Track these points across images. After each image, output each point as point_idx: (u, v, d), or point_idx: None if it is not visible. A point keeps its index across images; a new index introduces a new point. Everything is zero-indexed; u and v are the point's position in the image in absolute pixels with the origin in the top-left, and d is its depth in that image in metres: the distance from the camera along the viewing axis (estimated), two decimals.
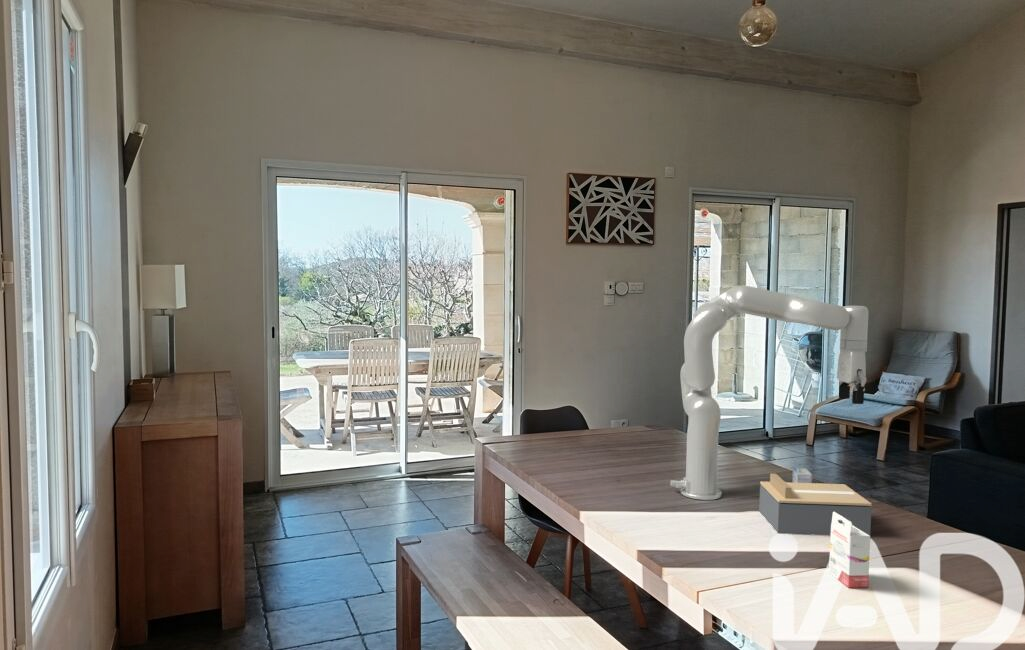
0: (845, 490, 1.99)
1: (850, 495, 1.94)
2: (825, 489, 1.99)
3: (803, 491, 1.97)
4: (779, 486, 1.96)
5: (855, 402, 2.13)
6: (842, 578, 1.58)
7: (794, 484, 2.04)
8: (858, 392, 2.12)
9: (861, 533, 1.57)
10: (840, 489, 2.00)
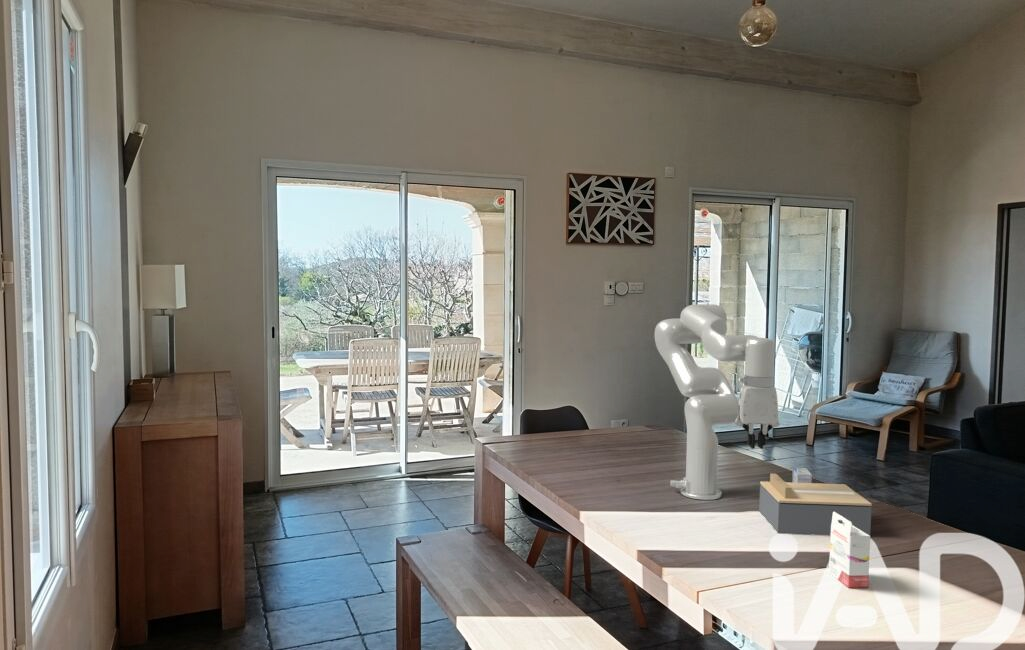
0: (845, 490, 1.99)
1: (850, 495, 1.94)
2: (825, 489, 1.99)
3: (803, 491, 1.97)
4: (779, 486, 1.96)
5: None
6: (842, 578, 1.58)
7: (794, 484, 2.04)
8: None
9: (861, 533, 1.57)
10: (840, 489, 2.00)
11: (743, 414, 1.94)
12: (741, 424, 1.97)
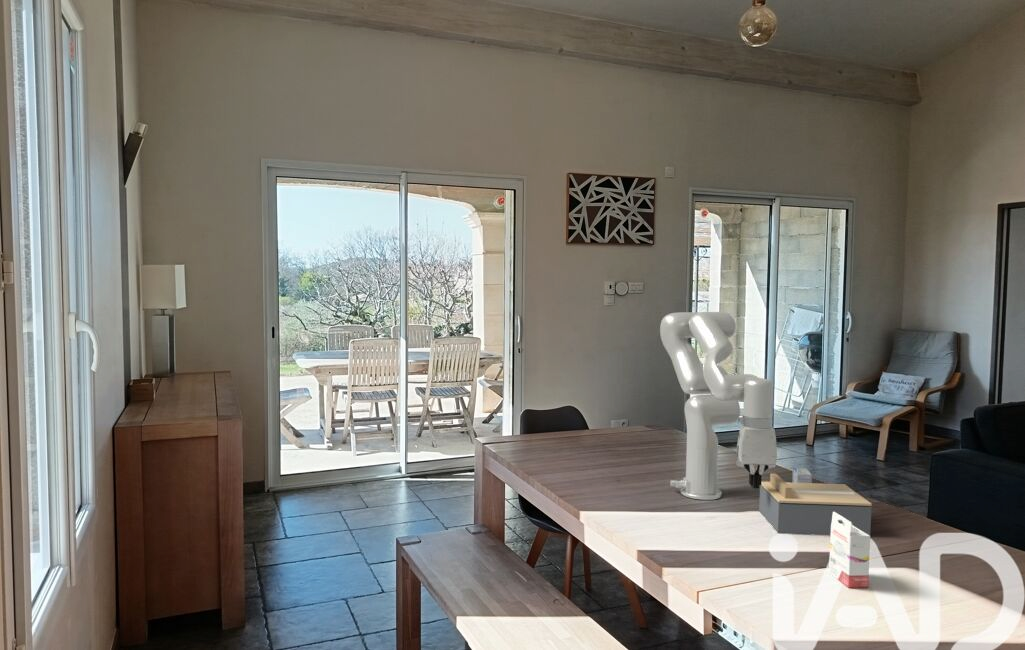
0: (845, 490, 1.99)
1: (850, 495, 1.94)
2: (825, 489, 1.99)
3: (803, 491, 1.97)
4: (779, 486, 1.96)
5: None
6: (842, 578, 1.58)
7: (794, 484, 2.04)
8: None
9: (861, 533, 1.57)
10: (840, 489, 2.00)
11: (742, 455, 1.95)
12: (742, 464, 1.97)
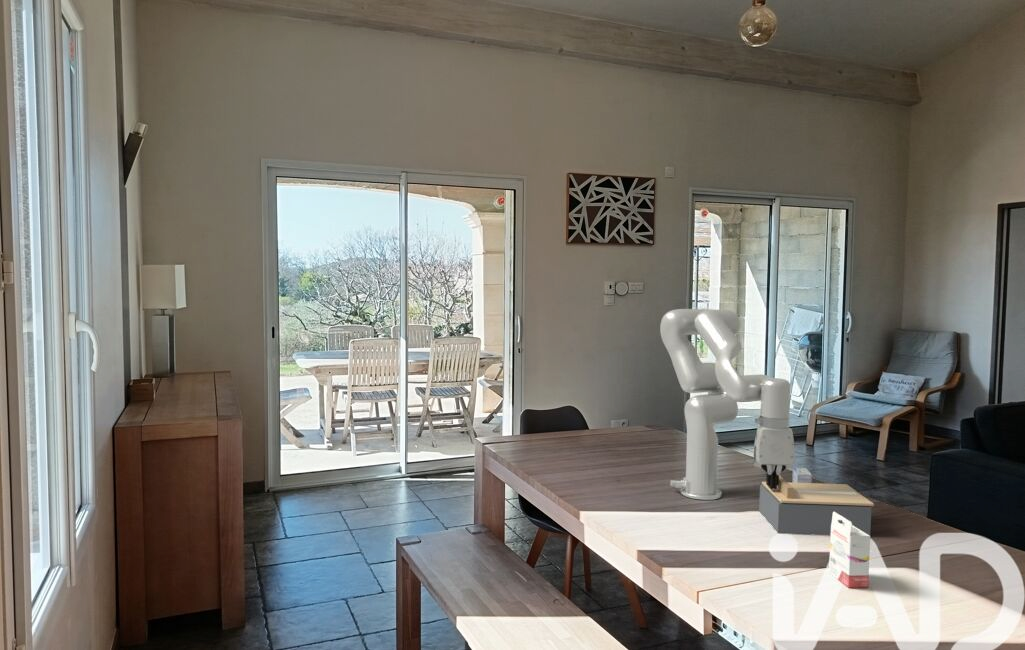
0: (847, 490, 1.99)
1: (852, 495, 1.94)
2: (827, 489, 1.99)
3: (805, 491, 1.97)
4: (781, 486, 1.96)
5: None
6: (842, 578, 1.58)
7: (796, 484, 2.04)
8: None
9: (861, 533, 1.57)
10: (842, 489, 2.00)
11: (759, 455, 1.95)
12: (759, 465, 1.97)
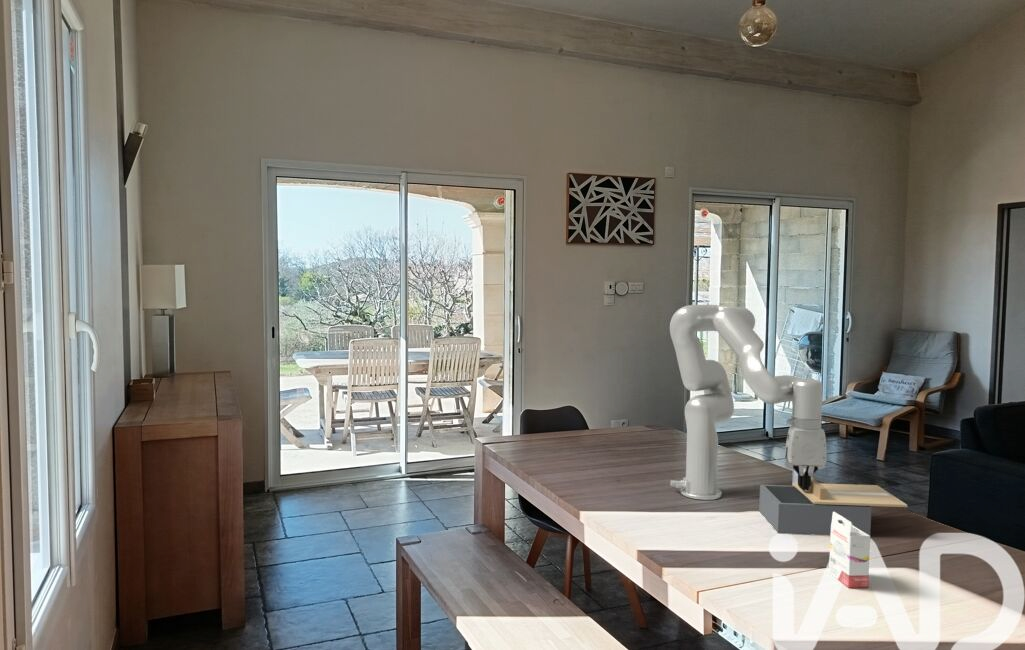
0: (879, 491, 1.98)
1: (885, 496, 1.93)
2: (859, 490, 1.99)
3: (837, 492, 1.96)
4: (813, 487, 1.95)
5: None
6: (842, 578, 1.58)
7: (827, 485, 2.03)
8: None
9: (861, 533, 1.57)
10: (874, 490, 1.99)
11: (791, 456, 1.94)
12: (791, 466, 1.96)
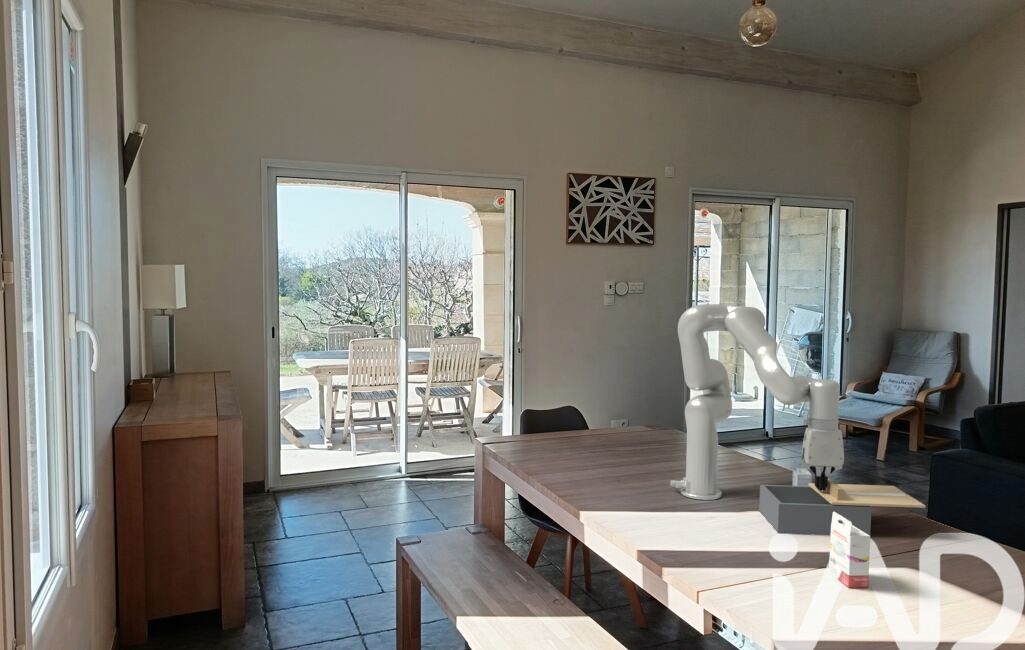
0: (896, 492, 1.98)
1: (902, 497, 1.93)
2: (875, 491, 1.98)
3: (854, 493, 1.96)
4: (830, 488, 1.95)
5: None
6: (842, 578, 1.58)
7: (843, 486, 2.03)
8: None
9: (861, 533, 1.57)
10: (890, 491, 1.99)
11: (808, 457, 1.94)
12: (808, 466, 1.96)
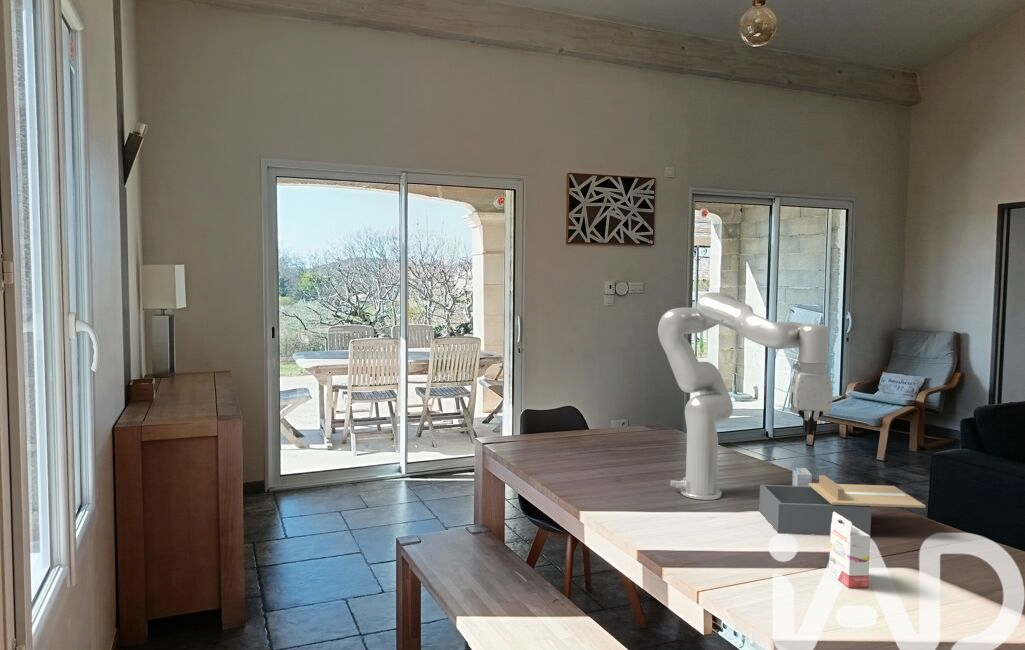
0: (896, 492, 1.98)
1: (902, 497, 1.93)
2: (875, 491, 1.98)
3: (854, 493, 1.96)
4: (830, 488, 1.95)
5: None
6: (842, 578, 1.58)
7: (843, 486, 2.03)
8: None
9: (861, 533, 1.57)
10: (890, 491, 1.99)
11: (797, 400, 1.94)
12: (796, 411, 1.96)
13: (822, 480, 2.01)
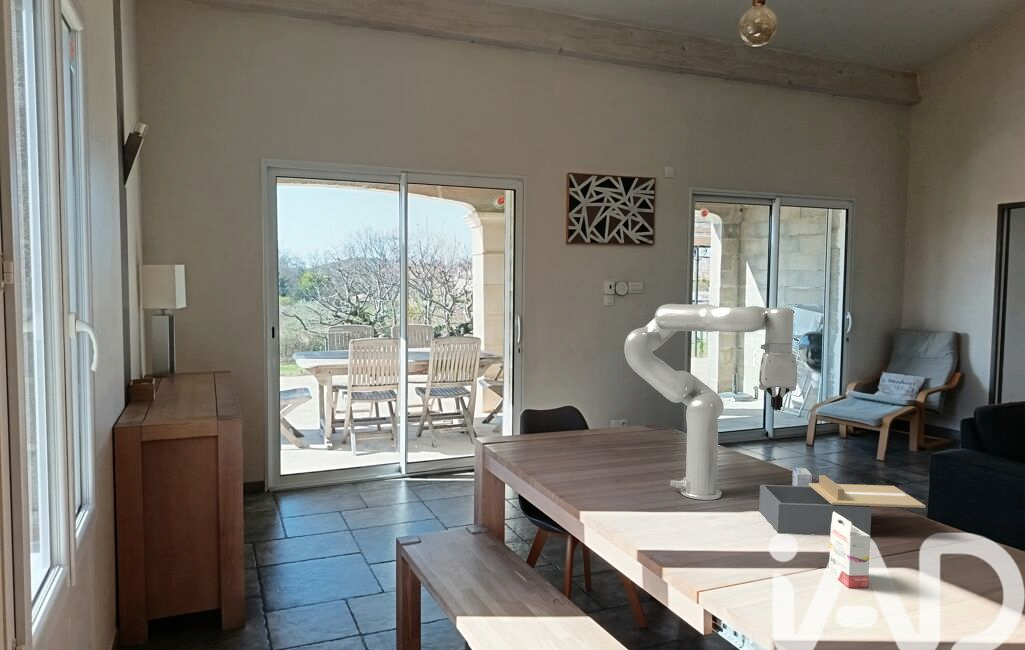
0: (896, 492, 1.98)
1: (902, 497, 1.93)
2: (875, 491, 1.98)
3: (854, 493, 1.96)
4: (830, 488, 1.95)
5: None
6: (842, 578, 1.58)
7: (843, 486, 2.03)
8: None
9: (861, 533, 1.57)
10: (890, 491, 1.99)
11: (765, 378, 2.09)
12: (764, 388, 2.11)
13: (822, 480, 2.01)
